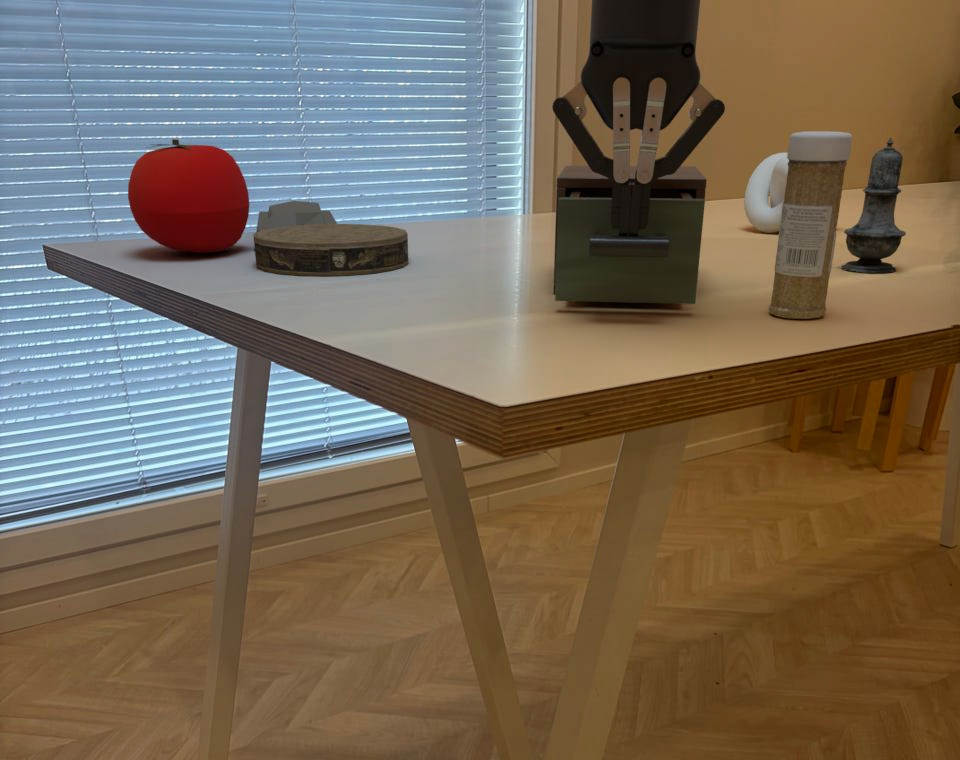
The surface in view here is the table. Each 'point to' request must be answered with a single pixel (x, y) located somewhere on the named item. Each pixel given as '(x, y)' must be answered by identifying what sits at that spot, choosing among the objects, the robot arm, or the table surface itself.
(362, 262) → the tin can
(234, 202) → the tomato
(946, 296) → the table surface
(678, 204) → the drawer
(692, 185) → the cabinet
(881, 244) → the salt shaker
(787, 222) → the sprinkles bottle
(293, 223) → the soap mold
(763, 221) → the white knot sculpture
